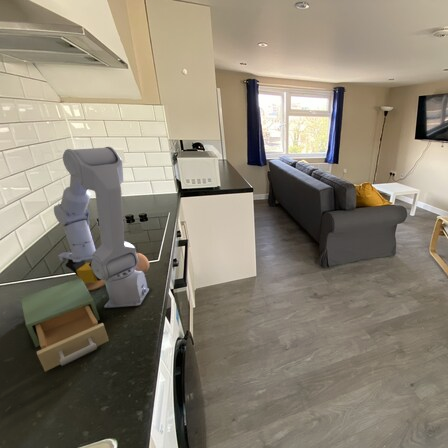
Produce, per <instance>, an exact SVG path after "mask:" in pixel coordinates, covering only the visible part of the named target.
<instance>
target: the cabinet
mask: <svg viewBox="0 0 448 448" xmlns="http://www.w3.org/2000/svg"><path fill="white" fill-rule="evenodd" d="M19 299H20V303H21V307H22V308H21V309H22V312H23V318H24V323H25V326H26V329H27V332H28V333H29V336H30V338H31V340H32V343H33V344H34V347H35V348H38V347H41V346H40V342H39V338H38V334H37V330H36V326H35V325H36V324H39V323H41V322H44V321H46V320H49V319H52V318H54V317H57V316H60V315H62V314H65V313H67V312H70V311H73V310H75V309H78V308H80V307H83V306H86V305H88V306H89V307H90V309H91V311H92V313H93V315H94V316H95V318H96V320H97V322H98V321H100V320H101V319H100V316H99V312H98V310H97V306H96V304H95V303H96V302H95V300H94V298H93V296H92V295H91V292H90V291H88V290H87V288H86V286H85V285H84V283H83V281H82V279H81V278H79V277H78V278H76V279H73V280H70V281H67V282H63V283H61V284H57V285H55V286H51V287H48V288H45V289H42V290H39V291H35V292H33V293H29V294H26V295H23V296H20V298H19Z"/></svg>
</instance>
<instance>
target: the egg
mask: <svg viewBox="0 0 448 448" xmlns="http://www.w3.org/2000/svg"><path fill="white" fill-rule="evenodd" d="M136 254H137V256H138V264H137V265H136V266H135V269H136V271H142V272H143V273H144V274H145V275H146V274H147V272H148V271H149V269H150V262H149V259H148V258H147V256H145V255H144V254H143V253H140V252H136Z"/></svg>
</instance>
